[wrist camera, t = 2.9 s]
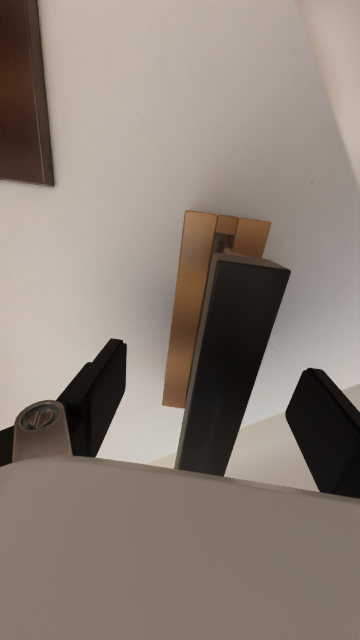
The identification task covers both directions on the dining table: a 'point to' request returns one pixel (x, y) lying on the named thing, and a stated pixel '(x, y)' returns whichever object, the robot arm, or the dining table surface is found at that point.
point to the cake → (22, 97)
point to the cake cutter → (227, 355)
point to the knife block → (201, 287)
